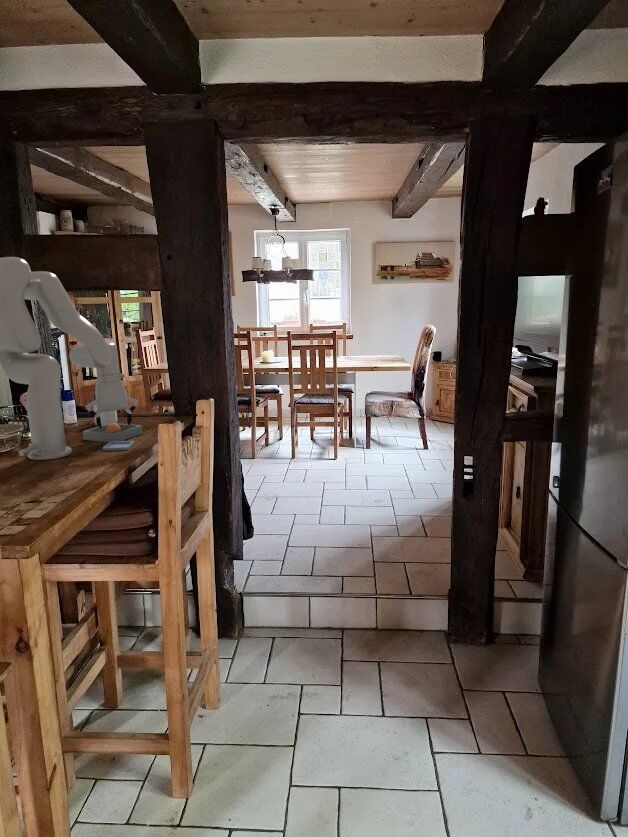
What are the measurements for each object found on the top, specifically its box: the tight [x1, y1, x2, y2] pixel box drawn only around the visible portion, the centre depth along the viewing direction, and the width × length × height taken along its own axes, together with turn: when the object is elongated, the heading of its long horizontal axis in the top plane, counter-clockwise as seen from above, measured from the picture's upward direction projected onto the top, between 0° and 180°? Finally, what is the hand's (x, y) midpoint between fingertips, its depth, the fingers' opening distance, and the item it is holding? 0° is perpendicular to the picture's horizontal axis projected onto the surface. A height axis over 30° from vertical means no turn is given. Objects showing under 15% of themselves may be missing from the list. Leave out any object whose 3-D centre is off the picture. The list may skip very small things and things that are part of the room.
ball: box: [106, 422, 121, 434], centre depth 197 cm, size 5×5×5 cm
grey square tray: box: [82, 422, 144, 443], centre depth 197 cm, size 14×14×3 cm
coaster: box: [102, 440, 136, 452], centre depth 183 cm, size 8×8×1 cm
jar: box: [91, 392, 118, 426], centre depth 218 cm, size 9×8×12 cm
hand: (114, 426), depth 197 cm, fingers open, 9 cm apart
